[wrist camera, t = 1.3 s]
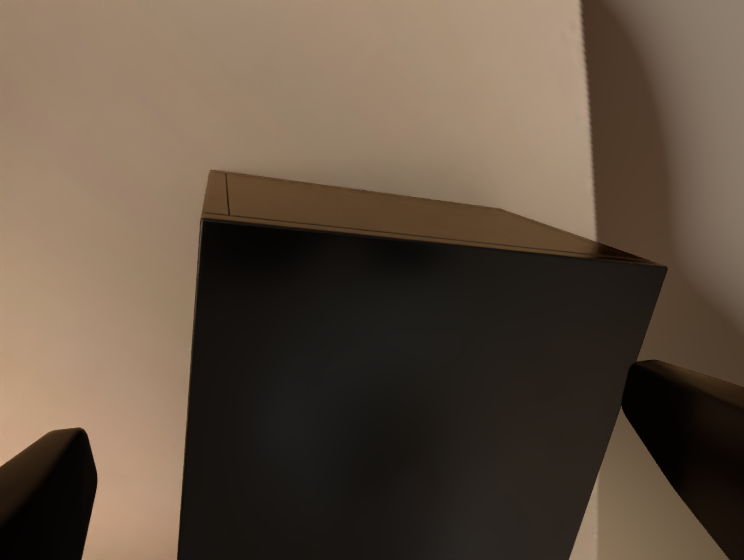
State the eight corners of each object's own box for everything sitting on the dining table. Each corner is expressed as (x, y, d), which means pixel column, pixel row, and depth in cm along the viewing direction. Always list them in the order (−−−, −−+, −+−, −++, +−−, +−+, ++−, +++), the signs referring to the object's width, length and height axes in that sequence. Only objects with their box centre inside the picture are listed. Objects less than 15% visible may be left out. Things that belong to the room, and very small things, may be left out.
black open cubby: (444, 446, 27) (553, 608, 18) (188, 456, 23) (169, 671, 14) (500, 208, 23) (669, 267, 14) (209, 169, 19) (201, 217, 10)
